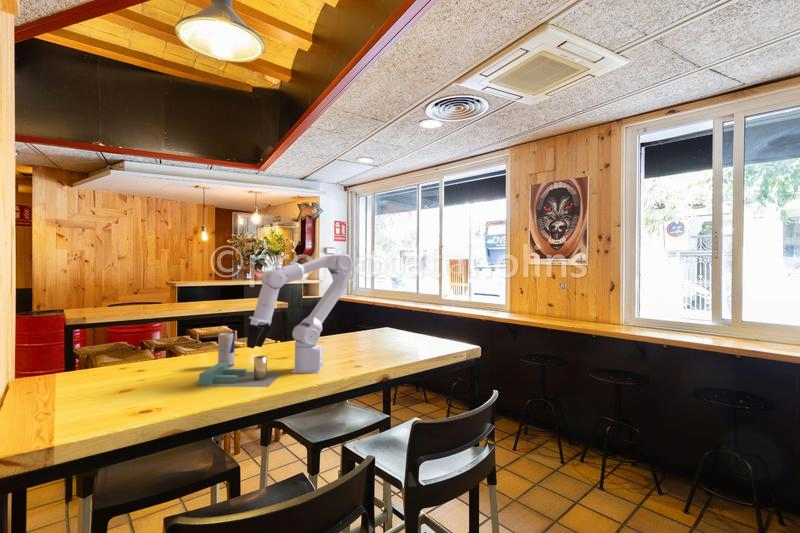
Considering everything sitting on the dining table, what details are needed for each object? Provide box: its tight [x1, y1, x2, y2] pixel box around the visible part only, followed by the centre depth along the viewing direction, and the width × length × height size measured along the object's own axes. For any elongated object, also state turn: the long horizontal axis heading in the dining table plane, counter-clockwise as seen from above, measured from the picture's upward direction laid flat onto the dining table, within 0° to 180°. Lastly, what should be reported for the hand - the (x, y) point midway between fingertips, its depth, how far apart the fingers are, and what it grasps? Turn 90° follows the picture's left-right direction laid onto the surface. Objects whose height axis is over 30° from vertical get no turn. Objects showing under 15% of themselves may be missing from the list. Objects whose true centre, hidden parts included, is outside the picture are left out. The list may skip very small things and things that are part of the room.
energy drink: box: [217, 332, 236, 369], centre depth 139 cm, size 5×5×12 cm
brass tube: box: [253, 355, 268, 381], centre depth 124 cm, size 4×4×7 cm
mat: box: [194, 371, 283, 388], centre depth 124 cm, size 22×16×1 cm
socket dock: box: [198, 362, 248, 386], centre depth 124 cm, size 10×14×4 cm
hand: (254, 347), depth 125 cm, fingers open, 7 cm apart
